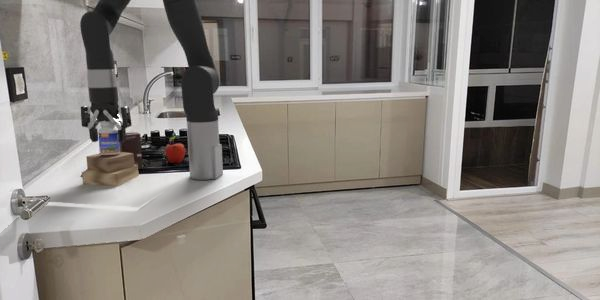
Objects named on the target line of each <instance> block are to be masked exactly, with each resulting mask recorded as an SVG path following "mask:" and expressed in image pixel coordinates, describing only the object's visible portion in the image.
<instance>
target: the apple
mask: <svg viewBox="0 0 600 300" xmlns="http://www.w3.org/2000/svg"><path fill="white" fill-rule="evenodd" d="M175 139H176V135H174V136H172V137H170V138H169V140H171V142H172V144H169V145H166V147H165V150H164V152H165V156H166V158H167V160H168V162H169V163H170V164H181V163H182V161H183V160H184V158H185V155H186V147H185V145H184V144H183V143H175Z"/></svg>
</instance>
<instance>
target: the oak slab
mask: <svg viewBox="0 0 600 300" xmlns="http://www.w3.org/2000/svg"><path fill="white" fill-rule="evenodd" d="M134 166H135V167H131V168H127V169H124V170H120V171H116V172H112V173H104V172H98V171H92V170H88V169H86V170H84V171H82V172H81V179H82V185H92V186H109V187H110V186H114V187H119V186H121V185H123V184H125V183H127V182H129V181H131V180H133V179H135V178H137V177H138V176H139V177H140V173H139V171H140V170H138V165H134Z"/></svg>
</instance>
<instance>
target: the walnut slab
mask: <svg viewBox="0 0 600 300" xmlns="http://www.w3.org/2000/svg"><path fill="white" fill-rule="evenodd" d="M85 157H86V167H87V170H92V171H98V172H104V173H112V172H116V171H120V170H124V169H127V168H131V167H135V166H134V154H133V153H126V152H120V153H119V154H116V155H100V153H95V154H91V155H87V156H85Z"/></svg>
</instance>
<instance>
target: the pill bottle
mask: <svg viewBox="0 0 600 300" xmlns="http://www.w3.org/2000/svg"><path fill="white" fill-rule="evenodd" d="M99 124H100V127H101V128H100V129H98V130H97V131H98V146H99V154H100V155H116V154H119V153H120V146H119V141H118V131H117V130H119V129H118V128H117V127H116V126H115V125H114V124H113V123H112V122H111V121H110V122H106V121H101V122H99Z"/></svg>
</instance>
